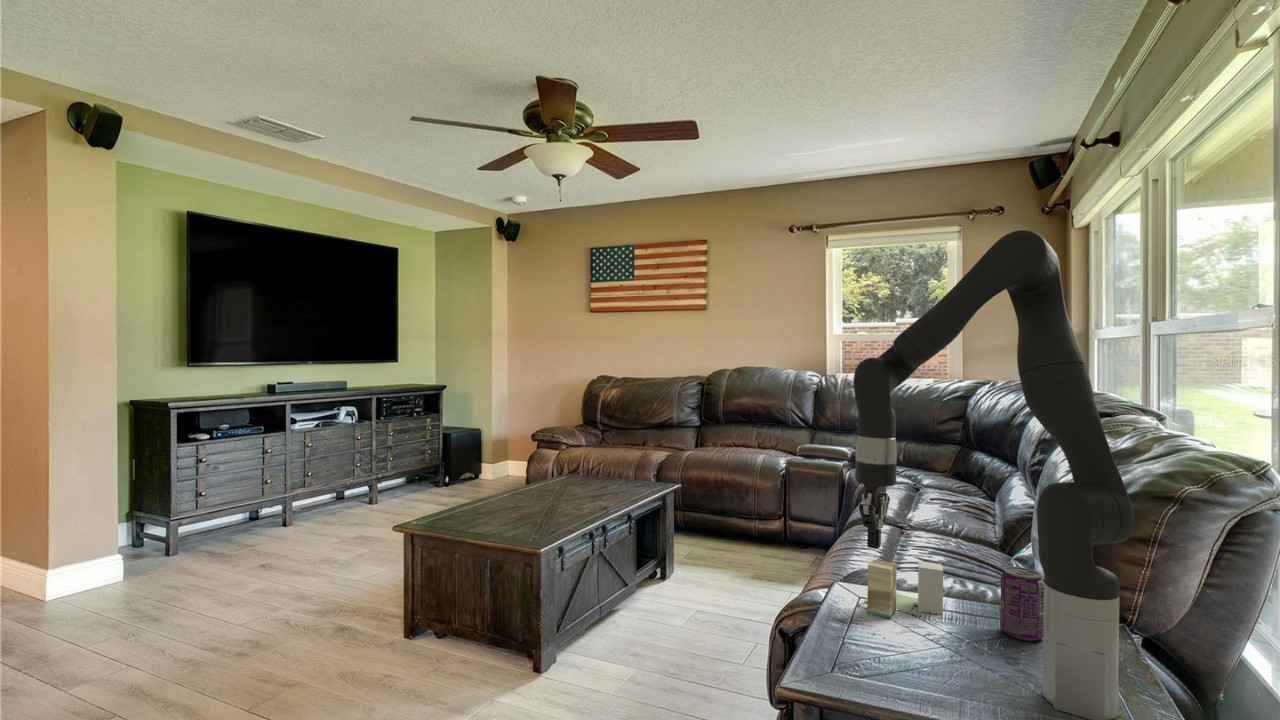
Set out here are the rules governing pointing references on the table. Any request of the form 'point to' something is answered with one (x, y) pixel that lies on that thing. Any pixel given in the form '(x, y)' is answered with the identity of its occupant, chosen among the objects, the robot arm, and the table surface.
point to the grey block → (930, 587)
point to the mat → (904, 602)
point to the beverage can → (1022, 603)
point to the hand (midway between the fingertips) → (874, 547)
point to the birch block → (882, 588)
